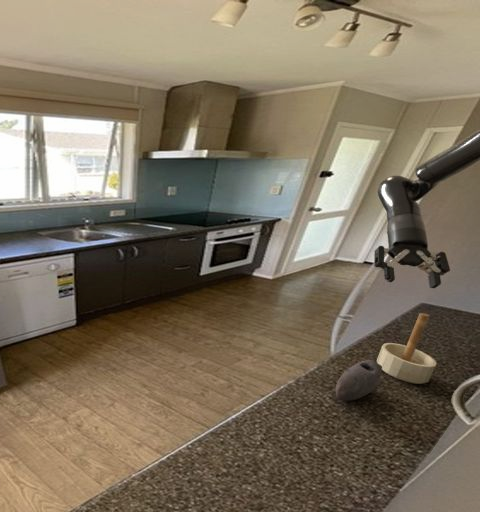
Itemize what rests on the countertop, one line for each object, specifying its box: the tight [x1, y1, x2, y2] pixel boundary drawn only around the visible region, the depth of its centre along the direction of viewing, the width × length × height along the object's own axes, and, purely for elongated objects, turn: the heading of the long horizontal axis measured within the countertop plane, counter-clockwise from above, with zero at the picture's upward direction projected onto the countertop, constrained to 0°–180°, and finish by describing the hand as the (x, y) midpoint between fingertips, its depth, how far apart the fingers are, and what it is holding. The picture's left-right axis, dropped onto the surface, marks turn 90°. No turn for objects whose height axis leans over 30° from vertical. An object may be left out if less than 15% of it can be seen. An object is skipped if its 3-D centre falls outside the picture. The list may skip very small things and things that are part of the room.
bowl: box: [376, 342, 438, 385], centre depth 74 cm, size 10×10×6 cm
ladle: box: [401, 312, 430, 362], centre depth 73 cm, size 4×2×16 cm, turn 54°
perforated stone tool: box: [335, 359, 383, 402], centre depth 67 cm, size 15×5×7 cm, turn 114°
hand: (412, 284), depth 76 cm, fingers open, 8 cm apart
